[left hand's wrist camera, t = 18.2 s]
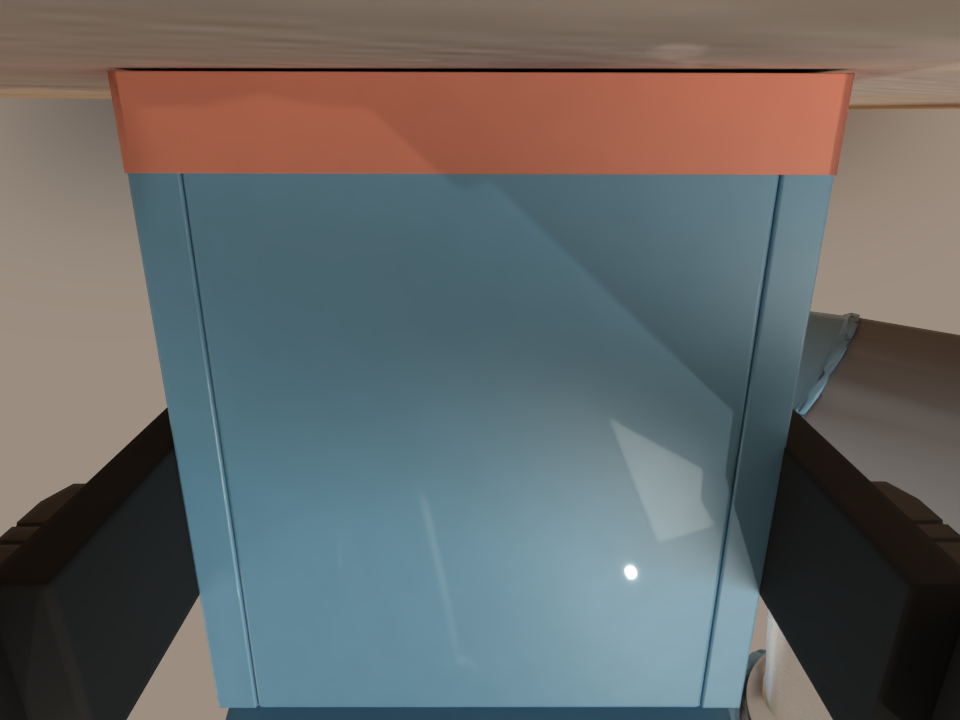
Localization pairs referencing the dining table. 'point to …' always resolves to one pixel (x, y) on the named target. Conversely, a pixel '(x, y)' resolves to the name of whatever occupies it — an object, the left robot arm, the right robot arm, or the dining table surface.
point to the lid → (479, 713)
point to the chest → (479, 370)
